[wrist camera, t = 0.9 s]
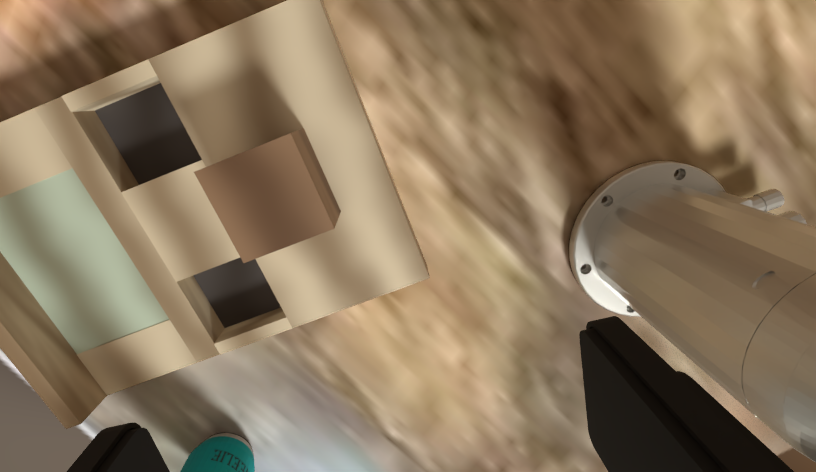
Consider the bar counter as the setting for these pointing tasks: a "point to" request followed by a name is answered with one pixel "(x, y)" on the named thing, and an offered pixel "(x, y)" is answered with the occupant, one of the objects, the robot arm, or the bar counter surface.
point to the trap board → (184, 211)
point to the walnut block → (271, 195)
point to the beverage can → (221, 455)
